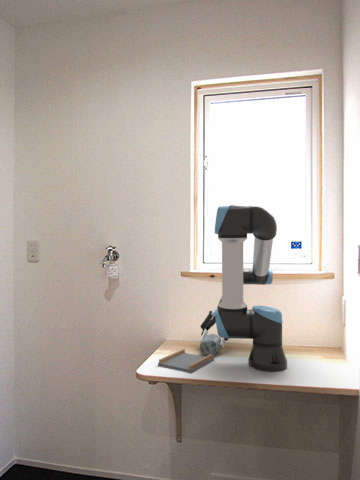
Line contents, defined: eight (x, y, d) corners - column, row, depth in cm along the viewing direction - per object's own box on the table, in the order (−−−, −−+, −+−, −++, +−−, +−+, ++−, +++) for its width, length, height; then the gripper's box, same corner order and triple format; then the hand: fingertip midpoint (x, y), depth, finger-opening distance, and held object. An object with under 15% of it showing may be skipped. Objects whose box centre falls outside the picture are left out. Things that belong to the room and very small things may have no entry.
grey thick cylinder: (219, 352, 160) (210, 329, 164) (200, 360, 163) (192, 338, 167) (229, 351, 172) (221, 330, 176) (211, 359, 175) (203, 338, 179)
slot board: (214, 360, 160) (214, 354, 160) (192, 372, 144) (192, 366, 144) (182, 354, 168) (182, 348, 168) (158, 365, 153) (158, 359, 153)
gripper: (250, 310, 180) (236, 352, 166) (209, 306, 192) (193, 345, 178) (246, 301, 175) (231, 343, 162) (204, 297, 187) (187, 336, 174)
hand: (211, 344), depth 170 cm, fingers closed on grey thick cylinder, 9 cm apart
